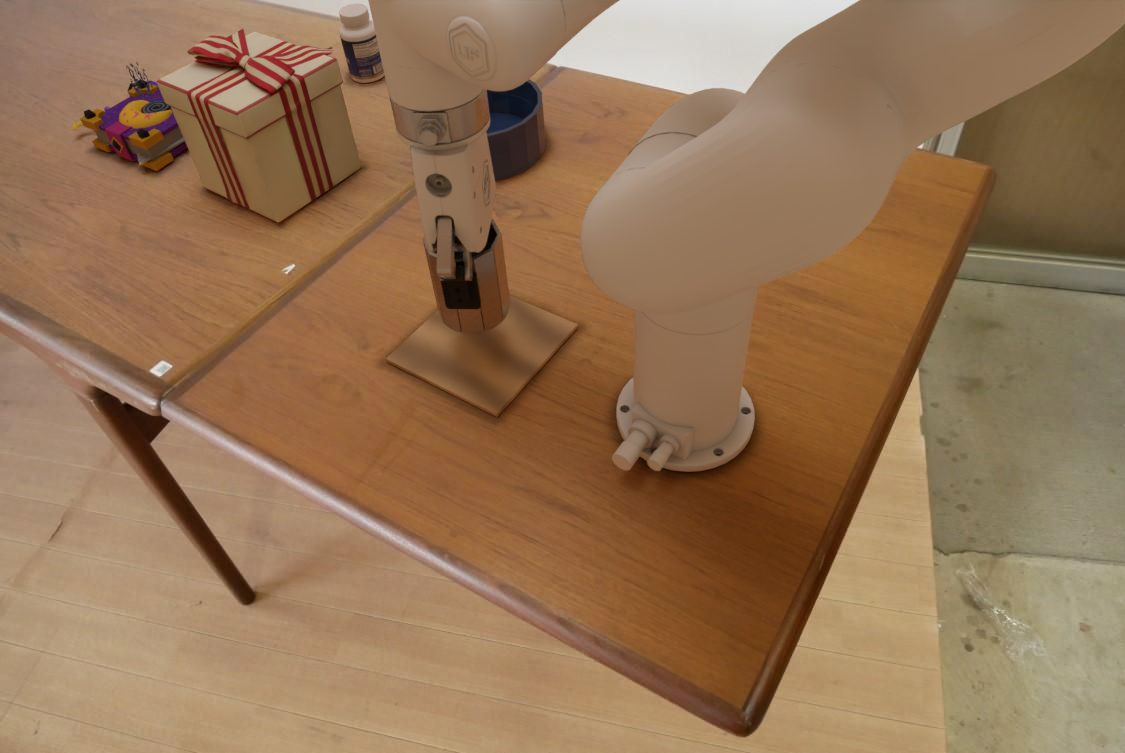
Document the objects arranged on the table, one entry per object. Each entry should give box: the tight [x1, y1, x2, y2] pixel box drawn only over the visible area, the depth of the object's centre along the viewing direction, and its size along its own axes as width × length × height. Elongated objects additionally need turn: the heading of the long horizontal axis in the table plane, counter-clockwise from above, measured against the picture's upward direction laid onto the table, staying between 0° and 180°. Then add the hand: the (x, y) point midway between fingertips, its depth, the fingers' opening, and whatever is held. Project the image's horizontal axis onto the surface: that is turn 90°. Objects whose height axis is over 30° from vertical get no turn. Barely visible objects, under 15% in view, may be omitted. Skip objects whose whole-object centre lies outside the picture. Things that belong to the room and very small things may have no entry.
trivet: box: [385, 294, 579, 418], centre depth 86 cm, size 14×14×1 cm
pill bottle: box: [338, 3, 385, 84], centre depth 121 cm, size 5×5×10 cm
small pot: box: [422, 219, 510, 334], centre depth 79 cm, size 7×7×9 cm
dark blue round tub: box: [486, 78, 547, 182], centre depth 108 cm, size 16×16×6 cm
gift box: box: [156, 28, 362, 223], centre depth 102 cm, size 17×18×17 cm
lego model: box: [71, 61, 188, 172], centre depth 111 cm, size 15×25×12 cm, turn 59°
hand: (469, 277), depth 79 cm, fingers closed on small pot, 7 cm apart
